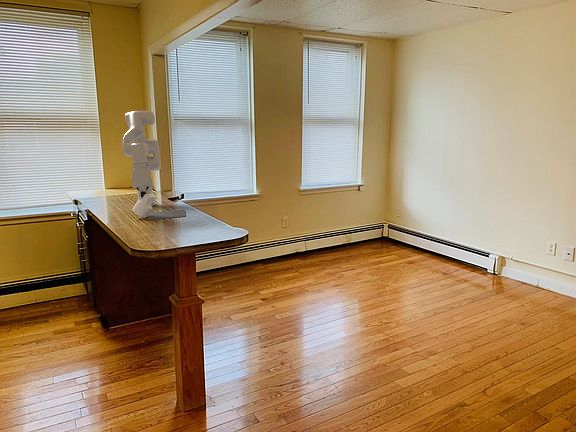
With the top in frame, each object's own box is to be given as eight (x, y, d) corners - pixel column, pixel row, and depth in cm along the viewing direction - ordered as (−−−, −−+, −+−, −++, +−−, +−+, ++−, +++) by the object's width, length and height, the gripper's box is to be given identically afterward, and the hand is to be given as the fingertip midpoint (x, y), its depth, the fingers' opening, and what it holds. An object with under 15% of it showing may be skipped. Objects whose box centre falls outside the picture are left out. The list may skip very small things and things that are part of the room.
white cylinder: (141, 218, 238) (153, 200, 235) (129, 208, 238) (140, 191, 236) (149, 216, 246) (160, 199, 244) (137, 207, 247) (148, 190, 245)
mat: (149, 213, 254) (149, 212, 254) (184, 210, 259) (184, 209, 258) (148, 220, 235) (147, 219, 235) (185, 216, 240) (185, 215, 239)
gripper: (154, 164, 243) (157, 196, 247) (126, 166, 240) (130, 198, 243) (154, 165, 236) (157, 198, 240) (125, 167, 232) (129, 200, 236)
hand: (143, 198), depth 242 cm, fingers closed
